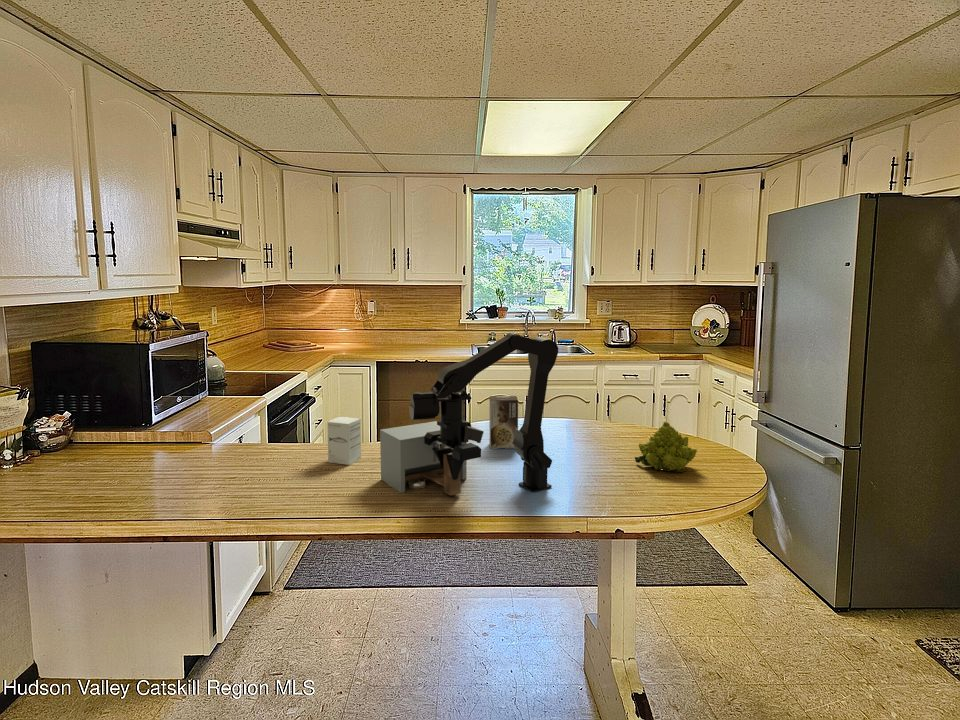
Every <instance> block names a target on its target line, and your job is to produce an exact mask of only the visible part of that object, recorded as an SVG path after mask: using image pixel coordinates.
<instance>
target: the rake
mask: <svg viewBox="0 0 960 720" xmlns="http://www.w3.org/2000/svg"><path fill="white" fill-rule="evenodd" d="M450 454H452V453H447V454H443V460H444V470H443V468H437V469H432V470H427V471H422V472H417V473H412V474H407V475H405V485H409V480H410V479H413V478H422V479H424V480H425V481H427V480H430V481H432V482H434V483H436V484H439V485H440V486H442V487H444V488H443V491H444V494H446V495H448V496H455V495H459V494H461V489H462V488H461V478H460V473H459V476H458V479H456V480H453V478H452V475H451V471H450V468H449V464H448V461H447V457H446V455H450ZM438 473H444V477H442V476H440V475H438Z"/></svg>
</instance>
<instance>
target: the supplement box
mask: <svg viewBox="0 0 960 720" xmlns="http://www.w3.org/2000/svg"><path fill="white" fill-rule="evenodd" d="M361 421H362V418H356V417H346V416H338V417H335V418H333V419H331V420H328V421H327V462H328V463H329V464H339V465H346V466H351V465H352V464H354V463H356V462H358V461H359V460H361V459H362V439H361V438H362V434H361V433H362V430H361V429H362V428H361V427H362V426H361V425H362V423H361ZM360 458H361V459H360ZM357 460H358V461H357Z"/></svg>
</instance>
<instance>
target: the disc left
mask: <svg viewBox="0 0 960 720" xmlns="http://www.w3.org/2000/svg"><path fill="white" fill-rule="evenodd" d="M408 487H409V488H411V489H413V488H414V489H413V490H417V489H418V490H419V489H420V490H421V489H423V488H426V480H424V479H422V478H413V479H410V480H409V483H408Z"/></svg>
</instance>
